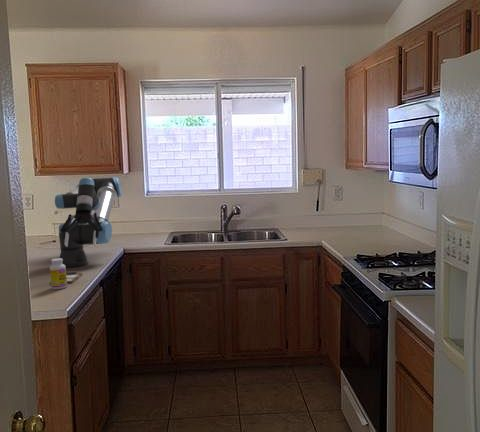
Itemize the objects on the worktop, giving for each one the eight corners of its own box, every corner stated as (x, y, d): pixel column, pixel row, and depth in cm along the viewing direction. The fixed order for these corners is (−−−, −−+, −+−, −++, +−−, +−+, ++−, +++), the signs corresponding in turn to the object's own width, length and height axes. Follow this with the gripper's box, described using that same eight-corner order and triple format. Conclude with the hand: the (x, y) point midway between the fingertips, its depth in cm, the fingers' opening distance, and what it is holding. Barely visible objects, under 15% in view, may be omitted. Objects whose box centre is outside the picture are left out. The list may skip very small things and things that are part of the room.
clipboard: (61, 276, 251) (61, 271, 251) (82, 275, 251) (82, 270, 251) (50, 284, 235) (49, 279, 235) (72, 283, 236) (71, 278, 235)
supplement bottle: (60, 290, 224) (57, 261, 223) (48, 289, 227) (45, 260, 225) (70, 286, 230) (67, 258, 229) (58, 285, 233) (56, 257, 231)
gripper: (56, 203, 255) (51, 242, 244) (107, 201, 255) (104, 239, 245) (61, 211, 261) (56, 249, 251) (111, 208, 261) (108, 246, 251)
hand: (80, 244), depth 248 cm, fingers open, 13 cm apart
